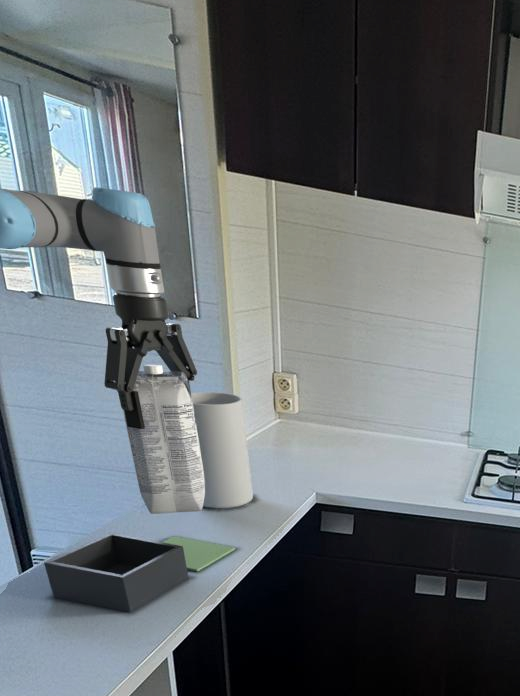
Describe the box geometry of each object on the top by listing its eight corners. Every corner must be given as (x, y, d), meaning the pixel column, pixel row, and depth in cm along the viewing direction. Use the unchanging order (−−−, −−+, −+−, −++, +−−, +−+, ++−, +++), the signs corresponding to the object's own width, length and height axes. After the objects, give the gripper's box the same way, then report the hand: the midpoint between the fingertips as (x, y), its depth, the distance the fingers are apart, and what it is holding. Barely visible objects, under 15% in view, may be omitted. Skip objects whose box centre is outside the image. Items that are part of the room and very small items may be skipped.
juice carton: (208, 513, 123) (186, 372, 111) (143, 517, 117) (112, 370, 106) (208, 496, 129) (187, 362, 118) (146, 500, 124) (118, 360, 112)
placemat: (131, 559, 123) (131, 556, 123) (174, 538, 133) (173, 536, 133) (197, 571, 122) (197, 569, 122) (235, 549, 132) (234, 547, 132)
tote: (53, 597, 109) (43, 562, 106) (119, 564, 121) (111, 532, 118) (130, 612, 108) (122, 577, 105) (188, 578, 120) (183, 546, 117)
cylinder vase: (226, 487, 161) (213, 389, 150) (265, 498, 158) (254, 399, 147) (182, 501, 150) (164, 397, 139) (222, 513, 147) (207, 407, 136)
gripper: (99, 299, 96) (128, 438, 105) (208, 294, 117) (223, 411, 126) (55, 292, 96) (87, 431, 106) (171, 289, 117) (189, 405, 127)
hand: (161, 420), depth 116 cm, fingers closed on juice carton, 11 cm apart
